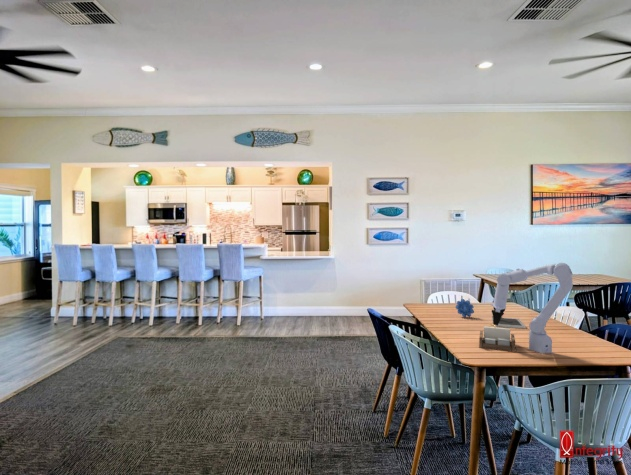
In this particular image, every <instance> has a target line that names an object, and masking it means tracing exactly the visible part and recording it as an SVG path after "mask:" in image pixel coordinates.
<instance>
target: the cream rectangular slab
mask: <svg viewBox="0 0 631 475" xmlns="http://www.w3.org/2000/svg"><path fill="white" fill-rule="evenodd" d="M483 338H484V339H485V338H491V339H495V340H496V341H498V338H501V339H509V340H511V328H506V327H496V326H495V327H493V326H483Z"/></svg>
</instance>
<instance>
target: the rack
mask: <svg viewBox="0 0 631 475" xmlns="http://www.w3.org/2000/svg"><path fill="white" fill-rule="evenodd" d="M478 339H479V341H478V342H479V343H478V348H479V349H485V350H486V349H487V350H497V351H503V352H504V351H507V352H514V353H515V352H516V338H515V334H514V333H510V346H504V345H498V341H496V340H495V344H485V339H484V330H480V331H479V338H478Z"/></svg>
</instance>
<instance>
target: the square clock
mask: <svg viewBox="0 0 631 475" xmlns="http://www.w3.org/2000/svg"><path fill="white" fill-rule="evenodd" d="M491 320H492V321H493V315H492V316H491ZM495 327H496V328H506V329H523V330H526V329H527V326H526V325H525V324H524V323H523V321H522V320H520V318H512V317H511V318H510V317H503V316H502V317H501V319H500V321H499V324H498V325H495Z"/></svg>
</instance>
